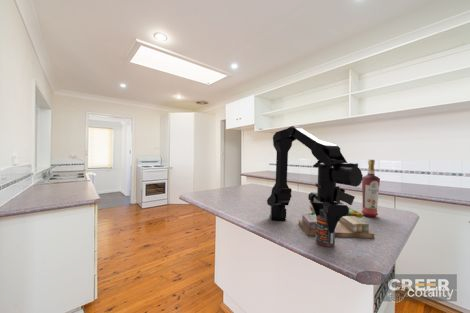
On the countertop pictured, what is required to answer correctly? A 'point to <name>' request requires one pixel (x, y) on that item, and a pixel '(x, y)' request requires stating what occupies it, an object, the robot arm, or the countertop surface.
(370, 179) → the liquor
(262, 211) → the countertop surface
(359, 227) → the book rack
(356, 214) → the puzzle game
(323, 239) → the supplement bottle
